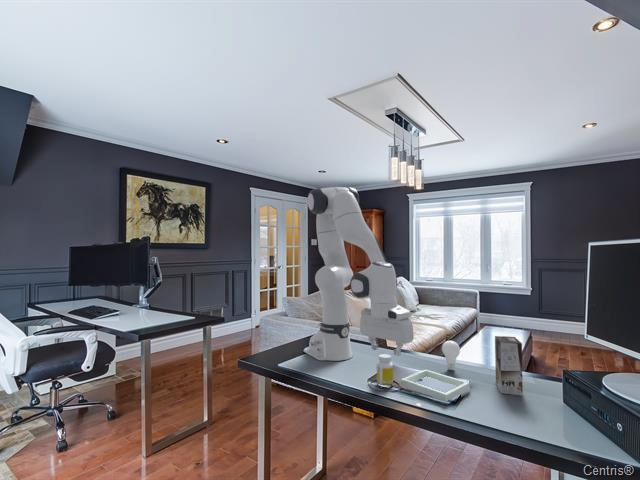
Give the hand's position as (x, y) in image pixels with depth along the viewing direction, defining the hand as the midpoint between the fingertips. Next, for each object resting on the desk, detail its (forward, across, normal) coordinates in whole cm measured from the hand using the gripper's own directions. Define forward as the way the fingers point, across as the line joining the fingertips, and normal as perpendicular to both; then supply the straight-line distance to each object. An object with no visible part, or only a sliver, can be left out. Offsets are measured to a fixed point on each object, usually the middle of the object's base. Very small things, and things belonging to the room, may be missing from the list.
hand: (385, 352), depth 114 cm
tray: (+12, +12, +9) cm, 19 cm away
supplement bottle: (+11, -1, 0) cm, 11 cm away
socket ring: (+11, -1, 0) cm, 11 cm away
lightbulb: (+12, +6, +30) cm, 33 cm away
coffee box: (+13, +27, +28) cm, 41 cm away
